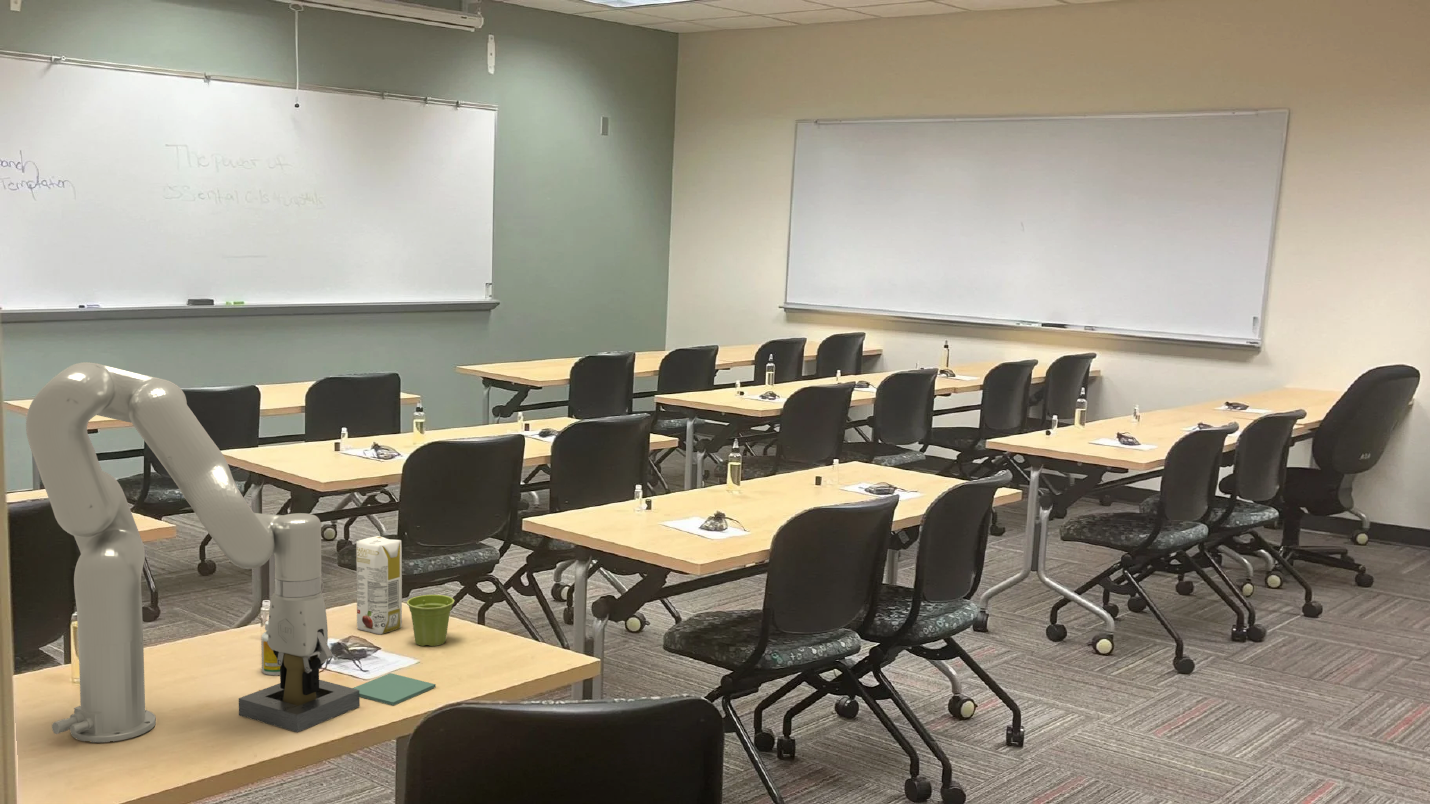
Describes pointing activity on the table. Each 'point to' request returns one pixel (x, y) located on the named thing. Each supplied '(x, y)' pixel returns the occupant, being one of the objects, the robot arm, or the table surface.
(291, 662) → the cork
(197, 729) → the table surface
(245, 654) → the table surface
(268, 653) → the supplement bottle
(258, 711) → the socket block
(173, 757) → the table surface
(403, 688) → the rubber mat
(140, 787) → the table surface
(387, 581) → the juice carton
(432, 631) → the plant pot
